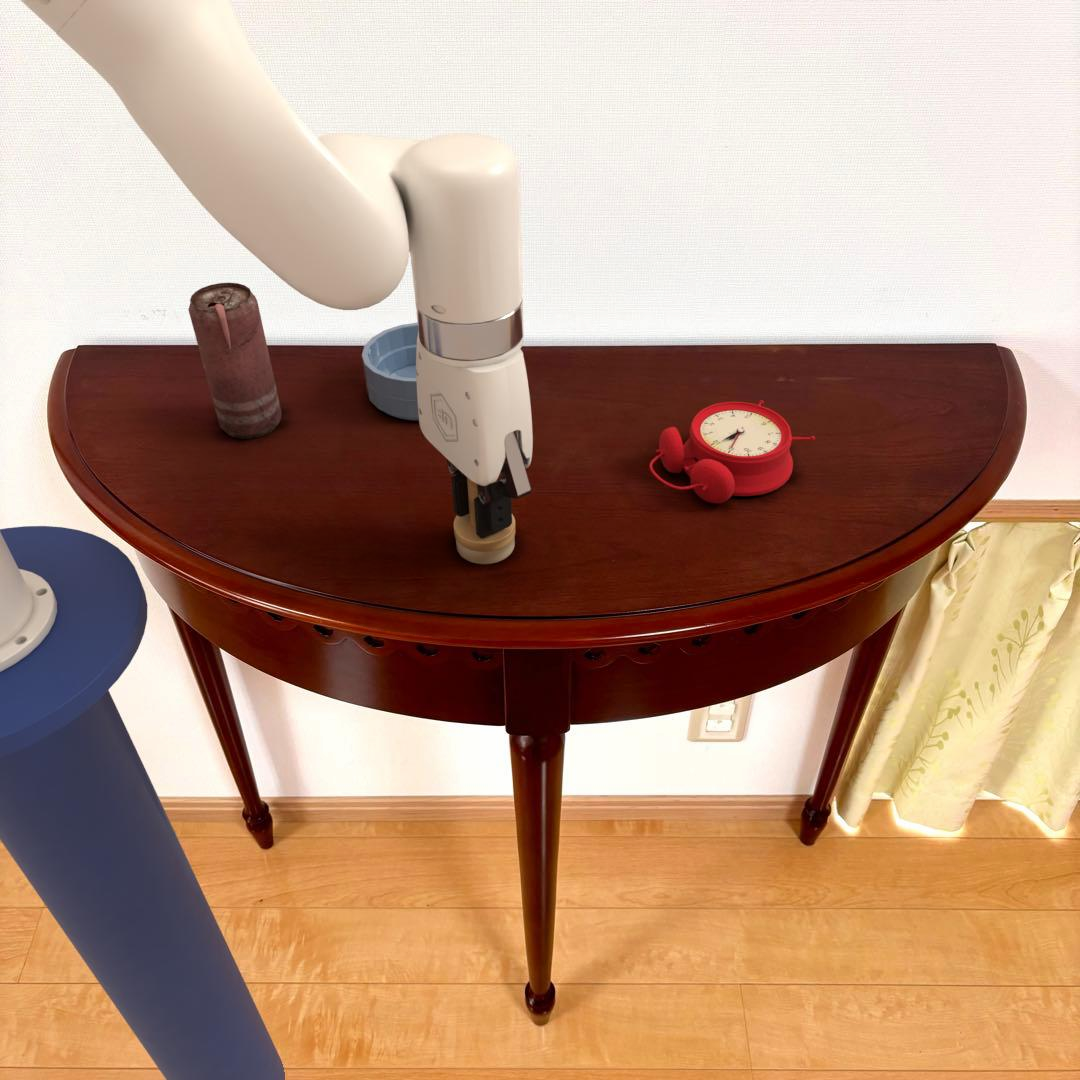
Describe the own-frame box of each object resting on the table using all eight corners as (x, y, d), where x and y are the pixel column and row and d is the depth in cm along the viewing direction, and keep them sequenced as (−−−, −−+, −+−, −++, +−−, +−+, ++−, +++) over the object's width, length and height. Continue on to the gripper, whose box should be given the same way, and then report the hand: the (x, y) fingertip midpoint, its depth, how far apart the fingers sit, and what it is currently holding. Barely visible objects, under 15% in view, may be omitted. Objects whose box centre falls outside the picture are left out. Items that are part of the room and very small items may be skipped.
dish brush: (476, 573, 80) (470, 493, 74) (444, 540, 83) (436, 460, 77) (527, 549, 82) (526, 469, 76) (494, 517, 85) (490, 439, 79)
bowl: (402, 437, 94) (397, 393, 91) (349, 385, 102) (342, 343, 98) (500, 399, 99) (499, 357, 96) (443, 352, 106) (440, 311, 103)
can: (227, 448, 93) (192, 317, 84) (215, 414, 97) (181, 287, 88) (289, 433, 95) (261, 304, 86) (275, 401, 99) (247, 274, 90)
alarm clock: (831, 438, 87) (712, 460, 79) (808, 495, 91) (691, 522, 83) (754, 386, 94) (637, 402, 86) (735, 442, 98) (620, 461, 90)
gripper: (370, 294, 72) (397, 487, 84) (488, 389, 62) (498, 593, 74) (456, 267, 75) (469, 457, 87) (581, 354, 65) (577, 555, 77)
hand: (483, 518), depth 80 cm, fingers closed
